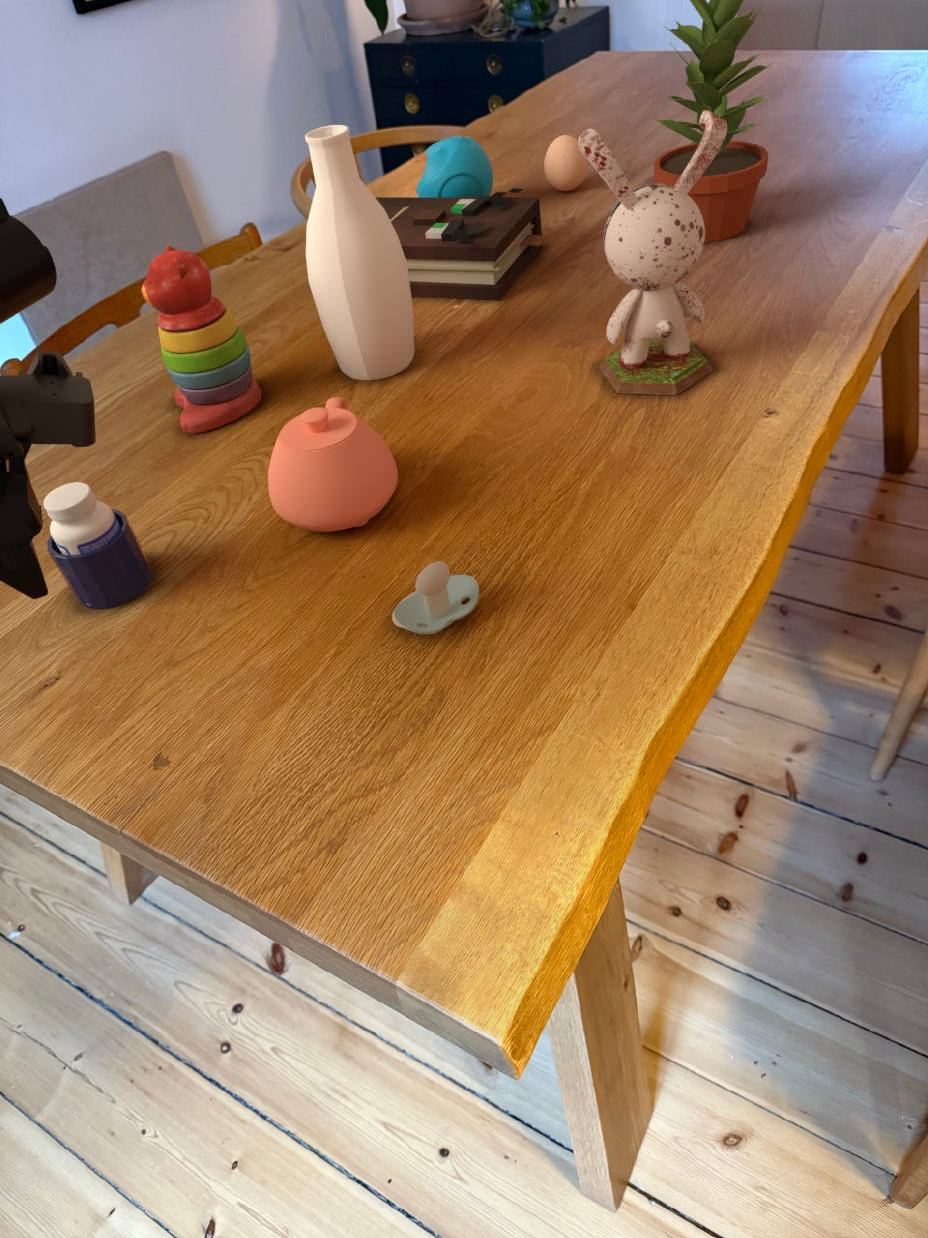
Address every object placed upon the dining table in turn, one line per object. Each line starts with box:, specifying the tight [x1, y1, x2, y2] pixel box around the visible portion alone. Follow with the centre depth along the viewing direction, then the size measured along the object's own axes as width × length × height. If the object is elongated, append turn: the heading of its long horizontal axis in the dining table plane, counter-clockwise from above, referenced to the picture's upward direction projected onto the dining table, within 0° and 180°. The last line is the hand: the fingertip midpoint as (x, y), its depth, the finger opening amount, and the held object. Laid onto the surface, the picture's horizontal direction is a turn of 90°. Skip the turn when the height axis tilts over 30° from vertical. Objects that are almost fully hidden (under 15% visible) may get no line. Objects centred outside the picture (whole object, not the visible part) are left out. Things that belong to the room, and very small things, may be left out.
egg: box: [543, 134, 588, 192], centre depth 138 cm, size 7×7×8 cm
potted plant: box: [653, 0, 774, 243], centre depth 112 cm, size 15×15×30 cm
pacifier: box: [391, 560, 480, 635], centre depth 71 cm, size 7×6×6 cm
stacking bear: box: [140, 245, 262, 435], centre depth 99 cm, size 11×10×18 cm
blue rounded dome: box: [415, 134, 494, 198], centre depth 134 cm, size 12×11×12 cm
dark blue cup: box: [46, 508, 153, 610], centre depth 80 cm, size 7×7×6 cm
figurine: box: [577, 110, 727, 397], centre depth 88 cm, size 14×12×25 cm
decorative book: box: [375, 187, 550, 301], centre depth 122 cm, size 19×8×30 cm
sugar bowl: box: [267, 396, 399, 533], centre depth 83 cm, size 12×14×10 cm
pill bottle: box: [43, 481, 121, 556], centre depth 78 cm, size 5×5×10 cm
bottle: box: [304, 124, 415, 382], centre depth 98 cm, size 11×11×25 cm
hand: (38, 561), depth 66 cm, fingers open, 9 cm apart
